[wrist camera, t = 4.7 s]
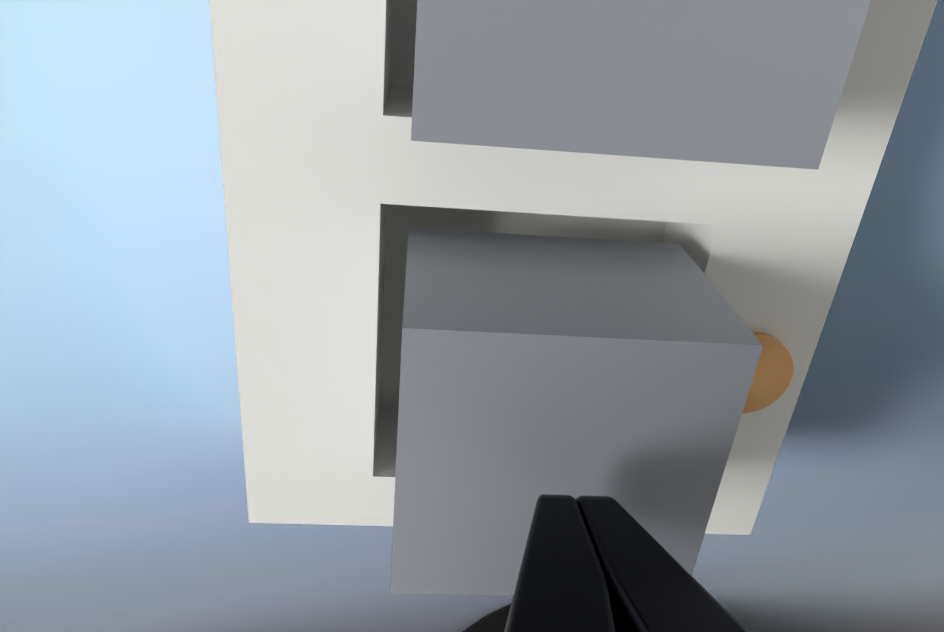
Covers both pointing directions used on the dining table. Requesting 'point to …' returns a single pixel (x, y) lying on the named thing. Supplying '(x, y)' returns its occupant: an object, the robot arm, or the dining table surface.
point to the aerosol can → (491, 622)
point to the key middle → (636, 76)
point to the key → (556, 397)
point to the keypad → (485, 210)
